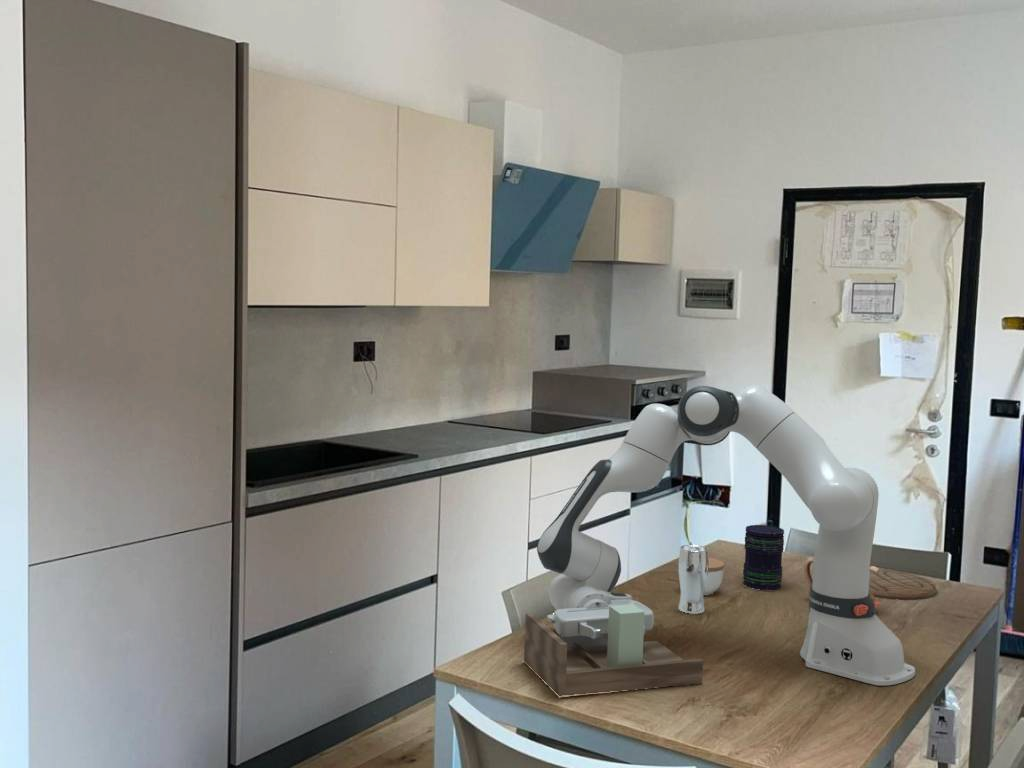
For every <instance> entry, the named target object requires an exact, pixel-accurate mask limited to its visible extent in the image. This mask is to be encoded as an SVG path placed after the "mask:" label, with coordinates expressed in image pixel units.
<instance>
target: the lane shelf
mask: <svg viewBox="0 0 1024 768" xmlns="http://www.w3.org/2000/svg"><path fill="white" fill-rule="evenodd" d="M524 622H525V623H524V624H525V625H524V651H523V654H524V655H523V662H524V661H525V662H526V663H527V664H528V665H529V666H530V667H531V668H532V669H533V670H534V671H535V672H536V673H537V674H538V675H539V676H540V677H541V678H542V679H543V680H544V681H545V682H546V683H547V684H548V685H549V686H550V687H551V688H552V689H553V690H554V691H555V692H556V693H557V694H558V695H559V696H562V695H574V694H586V693H598V692H610V691H622V690H635V689H645V688H655V687H666V688H668V687H667V686H675V687H679V686H678V685H685V686H691V685H690V684H694V685H700V684H701V683H702V684H703V670H704V660H703V659H702V658H691V659H689V658H688V659H683V658H681V657H680V656H679V655H678V654H676V653H674V652H673V651H672V650H670V649H669V648H668V647H666V646H665V645H663V644H661V643H660V642H659V641H658V640H650V641H649V640H648V641H643V661H642V664H637V665H626V666H616V667H607V649H608V645H603V646H592V647H581V646H580V645H579V644H577V643H576V642H572V648H569V649H567V644H566V643H565V642H564V641H563V640H562V639H561V638H560V637H558V636H557V635H558V634H556V633H555V632H554V631H553V630H552V629H550V627H548V626H547V625H546V624H545V623H544V622H542V620H541V619H539V618H538V616H536V615H535V614H534V613H532V612H525V621H524ZM702 684H701V685H702Z"/></svg>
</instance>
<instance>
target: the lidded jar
mask: <svg viewBox="0 0 1024 768" xmlns="http://www.w3.org/2000/svg"><path fill="white" fill-rule="evenodd" d="M724 568H725V562H723V561H722V560H720V559H716V558H712V557H709V567H708V575H707V580H706V585H705V589H704V595H705V596H709V595H708V594H712V593H713V594H714V592H716V591H717V590H718V589H719V587H720V586H721V584H722V581H723V577H724ZM713 594H712V595H713ZM704 595H703V596H704Z"/></svg>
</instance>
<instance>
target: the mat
mask: <svg viewBox="0 0 1024 768" xmlns="http://www.w3.org/2000/svg"><path fill="white" fill-rule="evenodd" d="M556 635H557V636H558V635H559V634H556ZM558 637H560V638H561V639H562V640H563V641H564V642H565V643H566V644H567V649H569V648H572V642H576V643H577V644H579V645H580V646H581V647H592V646H603V645H608V637H606V636H605V635H604V634H600V638H599V639H592V638H591V637H587V636H575V637H562V636H558Z"/></svg>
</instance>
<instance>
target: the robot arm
mask: <svg viewBox="0 0 1024 768" xmlns="http://www.w3.org/2000/svg"><path fill="white" fill-rule="evenodd" d="M731 432H732V433H733V432H734V433H736V434H739V435H741V436H742V437H743V438H745V439H746V440H748V441H749V443H750V444H752V446H753V447H754V448H755V449H756V450H757V451H758V452H759V453H760V454H761V455H762V456H763V457H764V458H765V459H766V460H767V461H768V462H769V463H770V464H771V465H772V466H774V467H775V469H776V470H777V471H778V472H779V473H780V474H781V475H782V476H783V477H784V478H785V479H786V481H787V482H788V483H789V485H790V486H791V488H792V489H793V490H794V491H795V493H796V494H797V496H798V497H799V498H800V500H801V501H802V502H803V503H804V504H805V506H806V507H807V508H808V509H809V511H810V512H811V514H812V515H811V516H813V519H814V520H815V521H816V523H817V524H819V526H818V531H817V537H816V540H815V541H816V543H815V546H814V550H813V557H814V562H813V563H812V565H813V566H812V587H811V588H810V587H809V593H808V594H809V596H808V608H809V616H808V623H807V627H806V633H805V638H804V640H803V643H802V646H801V649H800V651H799V656H800V657H801V658H802V659H804V661H805V663H804V664H805V667H807V668H810V669H813V670H818V671H822V672H825V673H827V674H828V673H829V674H832V675H836V676H839V677H843V678H848V679H851V680H855V681H859V682H863V683H866V684H870V685H872V686H873V685H874V686H892V685H898V684H900V683H904V682H906V681H909V680H912V679H913V678H914V677H915V675H916V668H915V666H913V665H911V664H909V663H906V662H905V655H904V648H903V645H902V644H903V643H902V642H901V640H900V639H899V638H898V637H897V635H896V634H894V633H893V631H891V629H890V628H888V626H887V625H886V624H885V623H884V622H883V621H882V620H881V619H880V618H879V617H878V616H877V615H876V613H877V612H876V608H879V607H881V605H880V603H881V601H880V600H878V601H874V603H873V601H872V599H871V596H870V594H869V576H870V566H871V559H872V558H871V557H872V550H873V543H874V538H875V530H876V522H877V513H878V503H879V494H880V493H879V487H878V485H877V484H878V483H876V481H875V479H874V477H872V476H871V474H870V473H868V472H867V471H865V470H863V469H860V468H858V467H857V468H856V467H845V466H844V465H843V464H842V463H841V462H840V460H839V459H838V458H837V457H836V455H835V454H834V453H833V452H832V451H831V449H830V447H829V446H828V445H827V443H826V440H824V438H823V437H821V436H820V434H818V432H816V430H815V429H814V428H812V427H811V426H810V425H809V424H808V423H807V422H806V421H805V420H804V419H803V418H802V417H801V416H800V415H799V414H797V412H796V411H794V409H792V408H791V407H790V406H789V405H788V404H787V403H785V401H784V400H782V399H780V398H779V397H778V396H777V395H775V394H774V393H772V392H771V391H770V390H768V389H767V388H764V387H763V386H762V385H757V384H756V385H750V386H747V387H744V388H743V389H741V390H740V391H738V392H737V393H736V394H734V393H733V392H732V391H729V390H728V391H727V390H723V389H720V388H717V387H715V386H714V387H713V386H709V385H698V386H694V387H692V388H690V389H689V390H687V391H686V392H685V393H683V394H682V396H681V398H680V400H679V402H678V405H677V407H671V406H669V405H666V404H662V403H650V404H648V405H646V406H644V408H643V409H642V410H641V411H640V413H639V414H638V416H637V417H636V418H635V420H634V421H633V423H632V424H631V426H630V428H629V429H628V431H627V433H626V435H625V437H624V438H623V442H622V443H621V444H620V446H619V448H618V449H617V450H616V451H615V452H614V453H613V454H612V455H611V456H610V457H609V458H607V459H600V460H599V461H598V462H596V463H595V464H594V465H593V466H592V468H591V469H590V470H589V471H588V473H587V474H586V475H585V477H584V478H583V479H582V481H581V482H580V483H579V485H578V486H577V488H576V489H575V491H574V492H573V494H572V495H571V497H570V498H569V500H568V501H567V502H566V504H565V505H564V506H563V508H562V509H561V511H560V512H559V514H558V515H557V516H556V518H555V519H554V520H553V521H552V522H551V523H550V525H548V526H547V528H546V529H545V530H544V531H543V533H542V534H541V535H540V537H539V540H538V542H537V546H536V552H537V556H538V558H539V561H540V562H541V566H543V568H544V569H546V570H549V571H551V572H553V573H554V572H555V573H557V574H558V575H557V576H556V577H554V578H553V579H552V580H551V582H550V584H549V588H548V596H549V600H550V603H551V604H552V607H554V609H555V610H554V612H552V613H550V614H548V615H547V616H546V618H547V619H546V620H547V621H548V622H550V623H551V624H553V628H554V630H555V632H556V633H557V635H560V636H563V637H575V636H587V637H591V638H592V639H599V638H600V634H602V635H608V624H609V606H616V605H629V604H633V605H635V606H636V607H638V608H639V609H641V610H642V611H644V612H645V614H644V635H646V631H651V630H652V629H653V628H654V622H655V616H654V614H655V613H654V611H653V610H652V609H651V608H649V606H647V605H645V604H643V603H641V602H640V601H638V600H634V599H633V596H632V595H630V594H629V593H622V592H621V593H619V592H612V591H613V590H614V588H615V587H616V585H617V583H618V581H619V579H620V576H621V574H622V563H621V562H622V561H621V558H620V557H621V556H620V554H619V551H618V550H617V548H616V547H614V546H611V545H610V544H608V543H605V542H604V541H602V540H600V539H598V538H594V537H592V536H589V535H587V534H585V533H583V532H582V531H579V528H580V526H581V525H582V524H583V522H584V521H585V519H586V518H587V516H588V515H589V514H590V512H591V510H593V508H594V505H596V503H597V502H598V501H599V500H600V498H601V497H603V496H604V495H606V494H610V493H616V492H617V493H619V492H620V493H644V492H646V491H649V490H652V489H654V488H655V487H657V486H658V485H659V483H660V482H661V481H662V479H663V478H664V476H665V474H666V472H667V470H668V468H669V466H670V464H671V461H672V460H673V457H674V455H675V453H676V451H677V449H678V448H679V447H680V445H681V444H682V443H684V444H691V445H693V444H694V445H699V446H715V445H717V444H720V443H721V442H723V441H724V440H725V439H727V438H728V436H729V435H730V433H731Z"/></svg>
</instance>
